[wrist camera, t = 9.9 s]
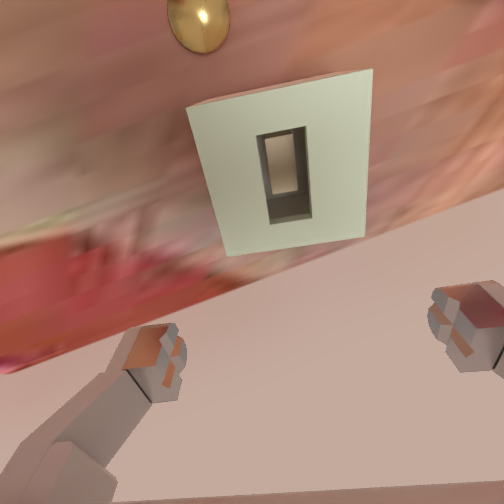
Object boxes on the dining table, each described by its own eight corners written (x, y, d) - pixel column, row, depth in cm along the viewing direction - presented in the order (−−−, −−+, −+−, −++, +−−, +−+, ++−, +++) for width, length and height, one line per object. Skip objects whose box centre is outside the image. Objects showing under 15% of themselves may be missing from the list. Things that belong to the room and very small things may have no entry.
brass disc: (163, -15, 22) (158, -21, 21) (223, -30, 22) (221, -37, 20) (182, 58, 25) (178, 57, 23) (235, 47, 24) (234, 45, 23)
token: (263, 130, 27) (264, 139, 23) (286, 125, 27) (292, 133, 23) (270, 178, 30) (272, 194, 25) (291, 174, 29) (298, 190, 25)
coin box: (208, 99, 26) (185, 107, 18) (333, 72, 25) (372, 68, 16) (234, 211, 33) (227, 256, 24) (335, 194, 31) (364, 236, 23)
